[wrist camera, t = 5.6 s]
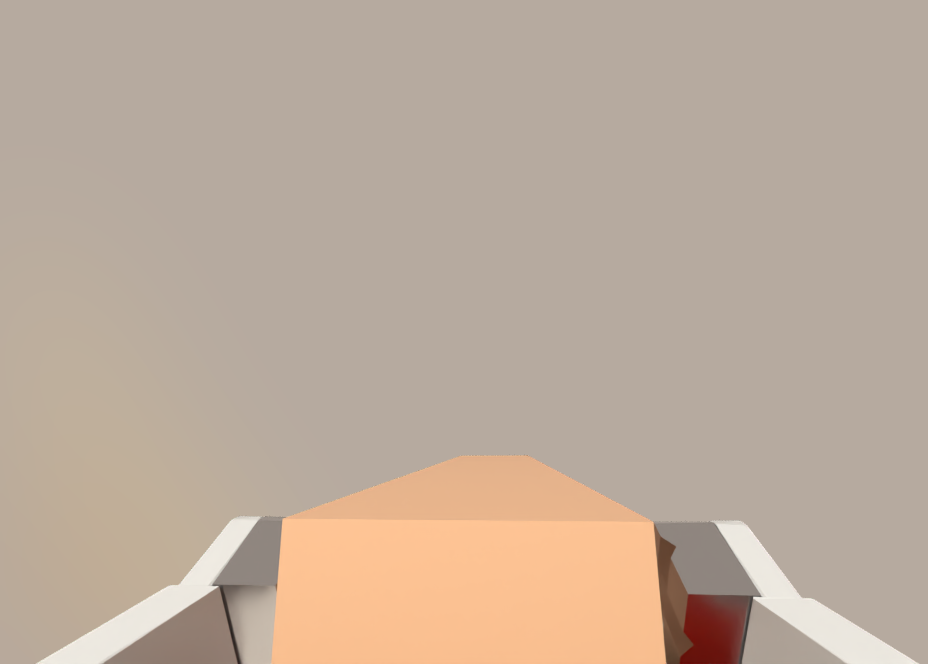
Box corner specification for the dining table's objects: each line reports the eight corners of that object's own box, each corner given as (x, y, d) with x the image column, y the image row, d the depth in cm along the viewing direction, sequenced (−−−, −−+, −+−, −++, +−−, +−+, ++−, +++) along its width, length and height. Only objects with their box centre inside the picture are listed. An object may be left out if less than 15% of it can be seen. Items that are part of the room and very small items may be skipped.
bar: (529, 508, 28) (527, 455, 28) (685, 876, 4) (653, 521, 5) (461, 508, 28) (461, 455, 29) (257, 849, 5) (282, 518, 5)
